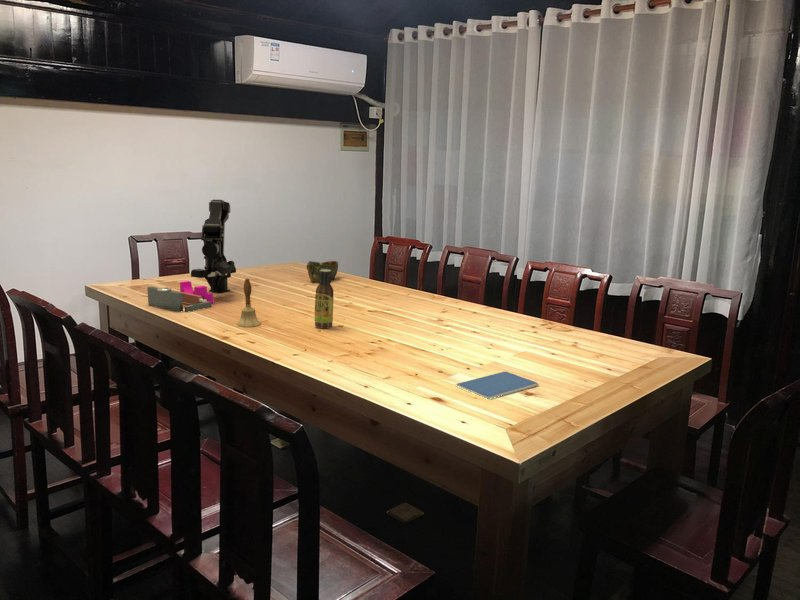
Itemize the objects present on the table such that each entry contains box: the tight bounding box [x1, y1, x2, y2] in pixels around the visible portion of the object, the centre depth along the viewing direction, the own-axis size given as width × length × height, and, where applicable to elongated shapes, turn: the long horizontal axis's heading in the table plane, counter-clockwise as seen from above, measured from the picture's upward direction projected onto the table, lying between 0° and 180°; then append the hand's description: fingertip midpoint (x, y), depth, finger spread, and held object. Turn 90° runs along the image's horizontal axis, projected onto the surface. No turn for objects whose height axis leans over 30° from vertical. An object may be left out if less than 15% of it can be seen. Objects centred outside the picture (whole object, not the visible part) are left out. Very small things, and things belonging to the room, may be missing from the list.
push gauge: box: [147, 286, 212, 313], centre depth 248 cm, size 15×22×8 cm
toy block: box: [179, 280, 214, 305], centre depth 255 cm, size 15×6×8 cm, turn 44°
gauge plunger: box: [171, 289, 207, 305], centre depth 250 cm, size 2×20×4 cm, turn 56°
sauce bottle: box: [314, 269, 335, 329], centre depth 222 cm, size 6×6×20 cm
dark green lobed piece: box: [306, 260, 339, 284], centre depth 308 cm, size 13×20×10 cm, turn 123°
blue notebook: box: [455, 371, 539, 399], centre depth 170 cm, size 19×13×1 cm, turn 128°
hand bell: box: [236, 278, 262, 328], centre depth 223 cm, size 8×8×16 cm
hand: (214, 292), depth 263 cm, fingers closed
